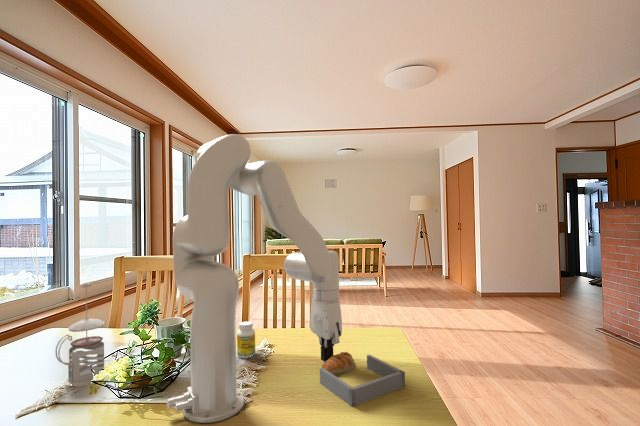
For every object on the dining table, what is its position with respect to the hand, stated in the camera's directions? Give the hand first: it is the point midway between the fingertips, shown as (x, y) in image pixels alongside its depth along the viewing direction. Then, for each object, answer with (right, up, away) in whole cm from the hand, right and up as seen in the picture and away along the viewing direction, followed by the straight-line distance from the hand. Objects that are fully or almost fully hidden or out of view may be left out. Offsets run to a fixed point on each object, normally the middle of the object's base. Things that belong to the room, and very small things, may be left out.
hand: (327, 359), depth 99 cm
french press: (-64, -2, -7) cm, 64 cm away
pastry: (+3, -1, -4) cm, 5 cm away
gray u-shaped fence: (+8, -1, -13) cm, 16 cm away
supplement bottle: (-24, -2, +7) cm, 25 cm away
